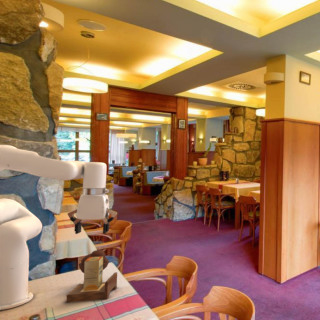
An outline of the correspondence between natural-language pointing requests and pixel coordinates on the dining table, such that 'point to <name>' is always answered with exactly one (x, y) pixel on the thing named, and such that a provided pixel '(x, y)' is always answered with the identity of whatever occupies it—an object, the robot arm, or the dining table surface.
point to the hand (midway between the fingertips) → (91, 232)
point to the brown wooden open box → (93, 291)
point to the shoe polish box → (93, 273)
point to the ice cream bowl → (94, 254)
